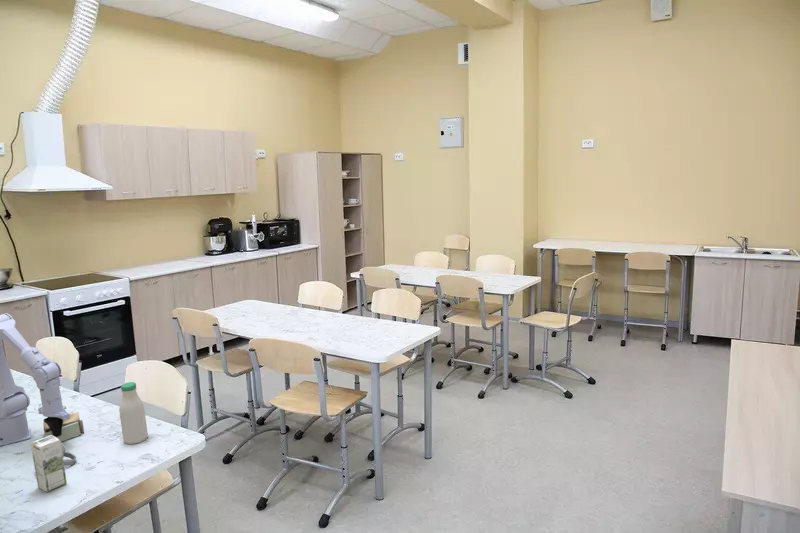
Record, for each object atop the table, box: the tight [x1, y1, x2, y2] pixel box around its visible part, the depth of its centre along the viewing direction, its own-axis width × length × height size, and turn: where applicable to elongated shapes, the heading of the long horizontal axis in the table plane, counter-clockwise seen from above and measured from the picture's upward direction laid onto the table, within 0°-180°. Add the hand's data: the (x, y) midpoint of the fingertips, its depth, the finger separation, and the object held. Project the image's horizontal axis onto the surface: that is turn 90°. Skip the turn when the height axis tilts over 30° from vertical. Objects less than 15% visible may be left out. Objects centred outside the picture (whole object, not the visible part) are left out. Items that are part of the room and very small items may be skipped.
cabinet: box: [43, 411, 85, 437], centre depth 206 cm, size 12×9×5 cm
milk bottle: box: [119, 381, 148, 445], centre depth 197 cm, size 8×8×20 cm
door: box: [44, 422, 81, 443], centre depth 200 cm, size 10×2×5 cm, turn 141°
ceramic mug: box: [61, 442, 77, 467], centre depth 183 cm, size 11×8×8 cm
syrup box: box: [30, 435, 67, 493], centre depth 171 cm, size 6×6×14 cm
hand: (57, 436), depth 197 cm, fingers closed, pressing on door
